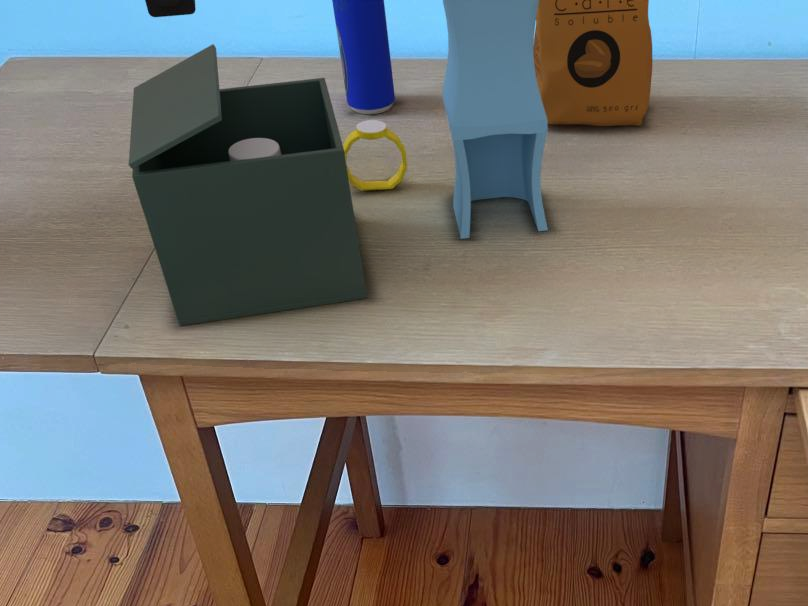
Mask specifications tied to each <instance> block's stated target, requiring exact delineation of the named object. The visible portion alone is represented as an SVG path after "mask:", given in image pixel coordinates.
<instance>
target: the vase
mask: <svg viewBox="0 0 808 606" xmlns="http://www.w3.org/2000/svg"><path fill="white" fill-rule="evenodd" d="M538 3H539V0H442V5H443V9H444V14H445V20H446V28H447V45H448V47H447V48H448V50H447V59H446V60H447V62H446V68H445V73H444V80H443V84H442V89H441V91H442V102H443V107H444V110H445V113H446V117H447V121H448V125H449V130H450V134H451V135H450V136H451V140H452V145H453V153H454V154H453V155H454V160H455V161H454V165H455V168H454V169H455V171H454V172H455V175H454V176H455V177H454V191H453V200H452V207H453V213H454V216H455V217H454V218H455V221H456V225H457V229H458V234H459V238H460V240H462V239H469V238H470V237H471V236H470V234H471V215H472V214H471V213H472V211H471V210H472V209H471V208H472V205H471V204H472V203H471V202H474V201H479V200H487V199H499V198H515V199H520V200H524V201H526V202H527V203H528V205H529V209H530V211H531V214H532V217H533V220H534V223H535V226H536V229H537V232H546V231H549V228H548V224H547V218H546V214H545V209H544V204H543V195H542V183H541V180H542V179H541V177H542V166H543V165H542V163H543V157H544V150H545V145H546V141H547V136H548V129H549V127H548V126H549V125H548V124H547V116H546V113H545V110H544V106H543V103H542V100H541V96H540V92H539V88H538V84H537V79H536V73H535V66H534V55H533V47H534V36H535V29H536V15H537V9H538Z"/></svg>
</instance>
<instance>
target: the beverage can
mask: <svg viewBox="0 0 808 606" xmlns="http://www.w3.org/2000/svg"><path fill="white" fill-rule="evenodd" d="M331 2H332V9H333V16H334V23H335V28H336V29H335V30H336V35H337V44H338V50H339V55H340V63H341V70H342V77H343V82H344V90H345V96H346V103H347V106H349V107H350V108H351V109H352V111H354V112H356V113H358V114H361V115H378V114H381V113H384V112H387V111H389V110H390V109H391V108H392V106H393V105H394V103H395V101H396V95H395V86H394V78H393V68H392V59H391V49H390V41H389V32H388V23H387V16H386V15H387V14H386V8H385V7H386V6H385V0H331Z"/></svg>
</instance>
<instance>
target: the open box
mask: <svg viewBox="0 0 808 606" xmlns="http://www.w3.org/2000/svg"><path fill="white" fill-rule="evenodd" d="M219 90H220V103H221V115H222V120H221V121H219V122H218V123H216V124H214V125H212V126H210V127H208V128H207V129H205V130H203V131H201V132H199V133H197V134H196V135H194V136H192V137H190V138H188V139H186V140H185V141H183V142H181V143H179V144H177V145H175V146H174V147H172V148H170V149H168V150H166V151H164V152H162V153H161V154H159V155H157V156H155V157H153V158H151V159H150V160H148V161H146V162H144V163H142V164H140V165H139V166H137V167H135V168H133V169H131V173H132V174H131V178H132V181H133V184H134V186H135V189H136V193H137V196H138V199H139V202H140V203H139V204H140V206H141V209H142V212H143V215H144V218H145V222H146V225H147V228H148V231H149V235H150V237H151V241H152V244H153V246H154V250H155V253H156V256H157V259H158V262H159V266H160V268H161V272H162V275H163V279H164V281H165V282H164V283H165V285H166V288H167V291H168V294H169V298H170V300H171V303H172V307H173V309H174V312H175V316H176V319H177V323H178V325H179V327H181V326H187V325H194V324H201V323H209V322H214V321H215V322H216V321H221V320H228V319H235V318H243V317H250V316H256V315H263V314H269V313H275V312H276V313H277V312H282V311H283V312H285V311H290V310H296V309H303V308H309V307H317V306H323V305H324V306H325V305H331V304H337V303H345V302H350V301H351V302H352V301H359V300H364V299H368V294H367V288H366V282H365V275H364V270H363V269H364V267H363V262H362V256H361V250H360V244H359V237H358V230H357V224H356V219H355V211H354V205H353V199H352V193H351V192H352V191H351V186H350V181H349V179H348V172H347V166H348V165H347V166H346V164H347V159H346V160H345V153H344V148H343V140H342V137H341V134H340V130H339V126H338V123H337V119H336V114H335V112H334V108H333V103H332V100H331V97H330V92H329V88H328V85H327V81H326V78H325V77H318V78H309V79H299V80H292V81H290V80H289V81H281V82H272V83H264V84H263V83H262V84H255V85H254V84H253V85H246V86H237V87H236V86H235V87H226V88H219ZM251 138H267V139H271V140H274V141H276V142H277V143H278V145H279V147H280V152H281V155H277V156H269V157H261V158H252V159H244V160H236V161H230V158H229V153H228V151H229V148H230V147H231V146H232V145H233V144H235V143H237V142H239V141H242V140H245V139H251Z"/></svg>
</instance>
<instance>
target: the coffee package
mask: <svg viewBox="0 0 808 606" xmlns="http://www.w3.org/2000/svg"><path fill="white" fill-rule="evenodd" d="M649 2H650V0H539V3H538V9H537V15H536V21H535V30H534V47H533V55H534V66H535V73H536V79H537V84H538V88H539V92H540V96H541V100H542V103H543V106H544V110H545V113H546V116H547V125H584V126H585V125H586V126H594V127H595V126H596V127H612V126H634V127H635V126H636V127H640V126H641V125H643V118H644V117H645V116H646V113H647V111H648V109H649V106H650V97H651V87H652V76H653V64H654V63H653V38H652V29H651V26H650V19H649V5H650V4H649Z"/></svg>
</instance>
